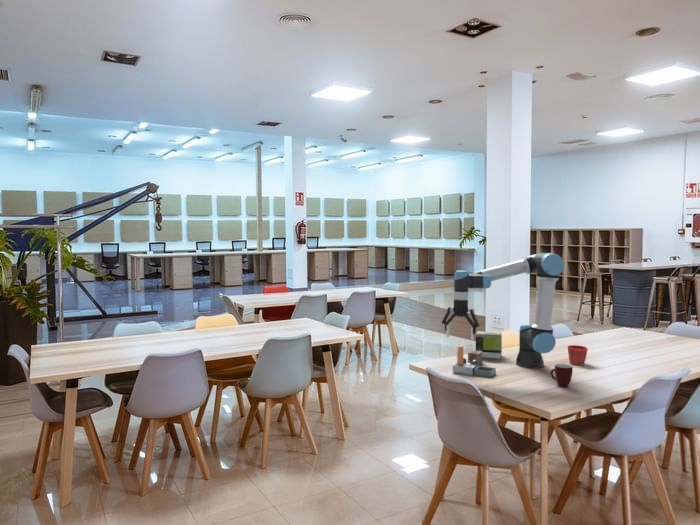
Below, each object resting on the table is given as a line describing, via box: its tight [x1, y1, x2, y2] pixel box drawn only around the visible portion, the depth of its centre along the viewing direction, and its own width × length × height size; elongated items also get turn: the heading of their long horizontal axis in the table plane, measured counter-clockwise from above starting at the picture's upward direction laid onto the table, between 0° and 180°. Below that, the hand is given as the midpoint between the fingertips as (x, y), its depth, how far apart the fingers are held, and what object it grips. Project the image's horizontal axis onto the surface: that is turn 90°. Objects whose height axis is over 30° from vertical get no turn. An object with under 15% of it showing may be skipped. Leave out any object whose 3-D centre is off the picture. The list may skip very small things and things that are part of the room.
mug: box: [550, 363, 573, 388], centre depth 256 cm, size 11×8×10 cm
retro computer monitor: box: [475, 330, 503, 359], centre depth 317 cm, size 15×10×15 cm
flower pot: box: [567, 344, 588, 366], centre depth 300 cm, size 11×11×10 cm
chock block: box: [467, 349, 483, 366], centre depth 299 cm, size 6×8×7 cm
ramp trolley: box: [452, 357, 480, 376], centre depth 283 cm, size 11×13×6 cm
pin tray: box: [473, 365, 497, 378], centre depth 276 cm, size 9×9×3 cm
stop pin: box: [456, 345, 464, 366], centre depth 281 cm, size 3×3×14 cm
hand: (460, 338), depth 281 cm, fingers open, 13 cm apart
